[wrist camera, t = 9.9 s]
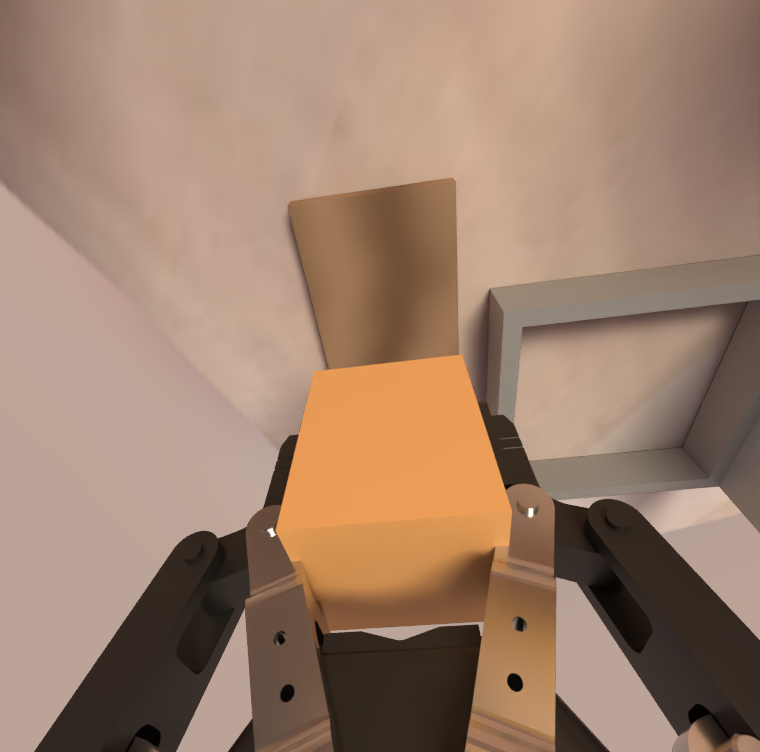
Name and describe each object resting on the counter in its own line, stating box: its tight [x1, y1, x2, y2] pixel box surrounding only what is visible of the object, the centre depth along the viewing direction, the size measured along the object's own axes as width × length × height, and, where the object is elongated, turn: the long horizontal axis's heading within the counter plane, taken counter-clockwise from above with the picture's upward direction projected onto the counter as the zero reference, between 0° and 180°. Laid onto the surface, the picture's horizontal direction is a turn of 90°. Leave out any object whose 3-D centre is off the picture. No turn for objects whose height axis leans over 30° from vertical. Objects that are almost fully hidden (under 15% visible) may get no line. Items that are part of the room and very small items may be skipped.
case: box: [486, 255, 760, 533], centre depth 21 cm, size 17×16×14 cm
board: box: [288, 178, 459, 370], centre depth 22 cm, size 8×12×1 cm, turn 7°
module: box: [276, 355, 512, 631], centre depth 12 cm, size 5×5×6 cm
